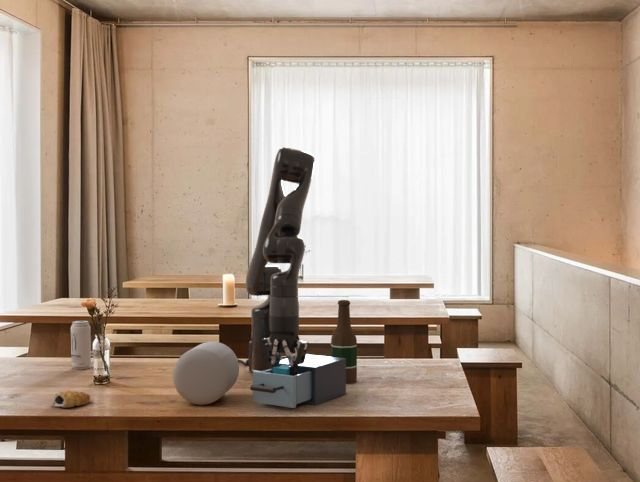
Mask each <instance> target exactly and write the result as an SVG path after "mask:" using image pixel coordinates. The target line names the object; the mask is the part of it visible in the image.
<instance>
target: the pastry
mask: <svg viewBox="0 0 640 482" xmlns="http://www.w3.org/2000/svg"><path fill="white" fill-rule="evenodd" d="M90 401H91V395H90V394H89V393H86V392H84V391H78V390H66V391H61V392H57V393H55V394H54V396H53V398H52V403H51V404H53V406H54V407H55V408H62V409H63V408H68V409H70V408H74V407H75V406H77V407H79V406H83V405H87V404H88V403H89V402H90Z"/></svg>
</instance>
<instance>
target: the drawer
mask: <svg viewBox="0 0 640 482" xmlns="http://www.w3.org/2000/svg"><path fill="white" fill-rule="evenodd" d="M249 389H250V391H252V403H256V404H263V405H269V406H277V407H282V408H291V409H294V408H297V405H298V404H302V403H301V402H304V401H307V400H310V399H313V371H312V370H304V369H297V375H294V376H291V375H283V374H275V373H272V369H269V370H265V371H261V372H258V371H254V372H252V384H251V385H250V386H249Z"/></svg>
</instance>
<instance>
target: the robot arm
mask: <svg viewBox="0 0 640 482" xmlns="http://www.w3.org/2000/svg"><path fill="white" fill-rule="evenodd" d="M315 165H316V160H315V156H314V154H312V153H311V152H308V151H304V150H300V149H297V148H291V147H286V146H282V147H280V148H279V149H278V150H277V152H276V156H275V158H274V163H273V168H272V173H271V180H270V186H269V191H268V196H267V199H266V203H265V207H264V211H263V214H262V218H261V222H260V226H259V231H258V236H257V240H256V244H255V247H254V252H253V254H252V257H251V259H250V262H249V266H248V269H247V272H246V276H245V289H246V291H247V293H248V294H249V295H250V296H254V297H255V296H258V297H260V296H261V297H262V296H263V297H264V296H267V299H266V300H265V301H264V302H262V303H261V304H258V305H255V306H254V307H252V309H251V313H250V314H251V315H250V316H251V340H249V342H248V357H247V359H246V360H245V361H244V360H242V359H238V358H237V360H238V363H239V364H242V365H245V366H248V372H249V373H253V372H254V371H258V372H261V371H265V370H269V369H272V373H273V367H277V366H280V364H279V362H280V360H283V357H282V356H283V354H285V357H286V359H287V358H288V361H289V365H290V366H289V369H290V375H291V376H294V375H297V366H298V365H299V364H302V363H304V360H305V357H306V354H308V349H309V345H310V344H309V341H303V340H301V339H300V337H299V331H300V303H299V274H300V270H301V265H302V262H303V258H304V256H305V251H306V245H305V242H304V240H303V238H302V237H300V236H299V234H300V232H301V227H302V220H303V212H304V209H305V204H306V201H307V198H308V195H309V191H310V187H311V183H312V180H313V175H314V171H315ZM284 181H285V182H289V183H293V184H297V186H296V187H295V188H294V189H293V190H292V191H291V192H289V193H288V194H287V195H286V194H285V191H284V186H283V182H284ZM268 263H269V264H290V265H289V267H288V269H286V270H285V271H282V269H281V266H279V265H268ZM297 349H298V350H297Z"/></svg>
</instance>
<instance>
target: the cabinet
mask: <svg viewBox="0 0 640 482" xmlns="http://www.w3.org/2000/svg"><path fill="white" fill-rule="evenodd" d="M279 364H280V365H288V366H290V365H289V361H288V358H287V357H286V358H284V359H283V358H282V360H280V362H279ZM297 369H304V370H312V371H313V399H310V400H307V401H304V402H301V403H300V404H306V405H307V404H308V405H319V404H321V403H324V402H327V401H329V400H332V399H335V398H338V397H340V396H343V395H346V393H347V384H346V358H338V357H331V356H327V355H317V354H309V353H306V357H305V360H304V363H302V364H299V365H298V366H297Z"/></svg>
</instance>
